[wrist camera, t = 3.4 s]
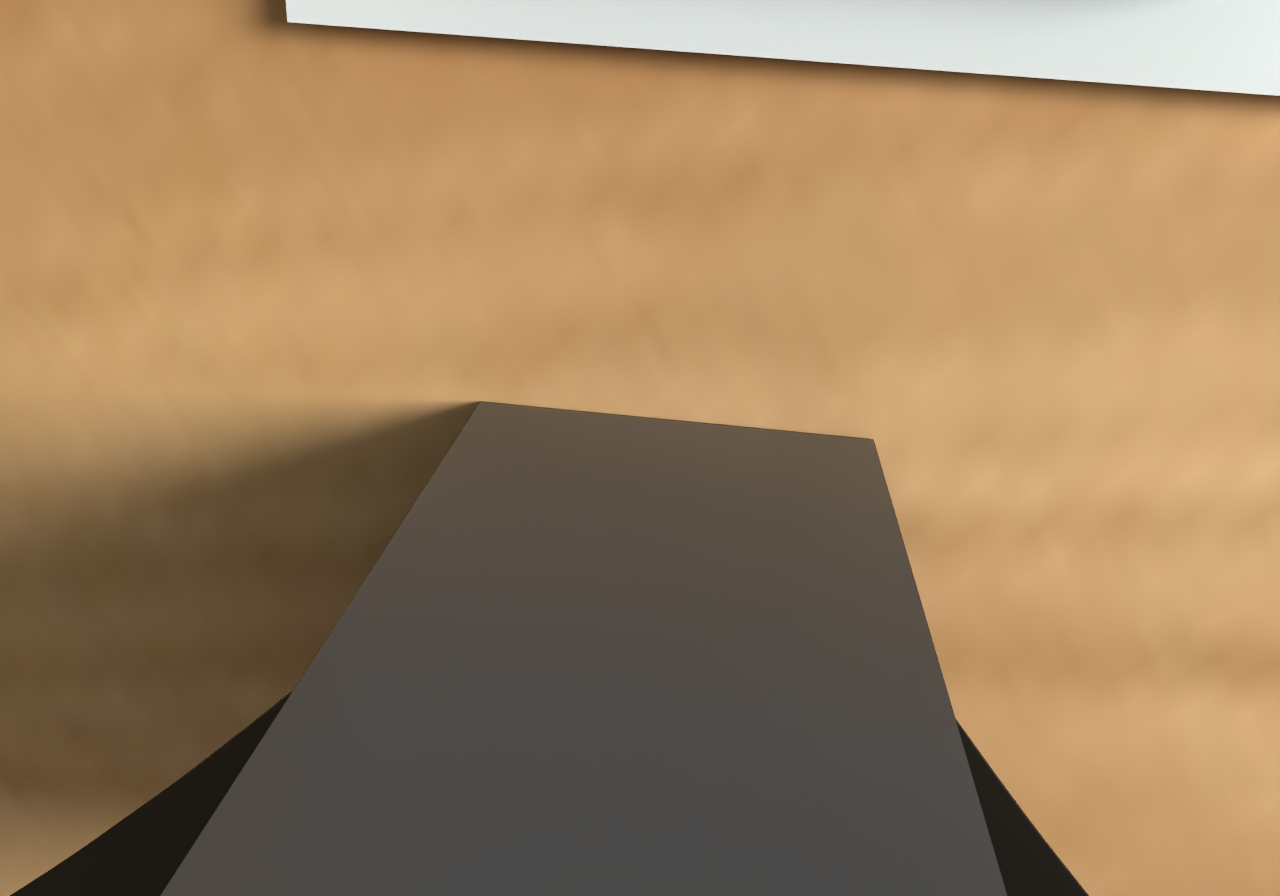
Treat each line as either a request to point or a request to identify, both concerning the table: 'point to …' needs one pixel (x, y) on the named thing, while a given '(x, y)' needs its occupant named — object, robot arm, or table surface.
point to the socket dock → (886, 33)
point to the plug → (619, 686)
